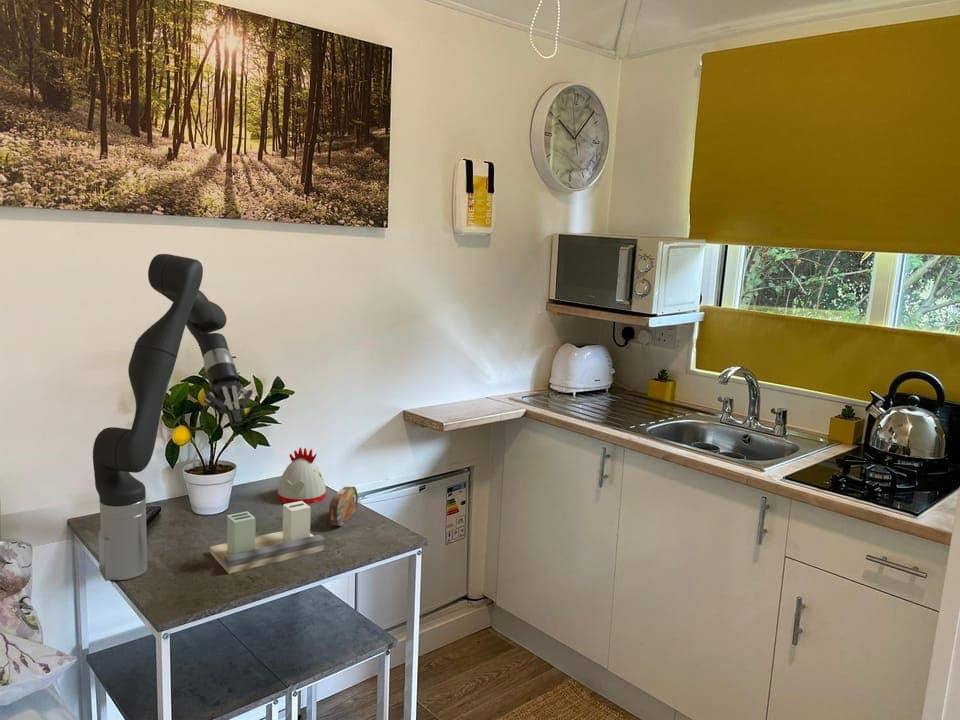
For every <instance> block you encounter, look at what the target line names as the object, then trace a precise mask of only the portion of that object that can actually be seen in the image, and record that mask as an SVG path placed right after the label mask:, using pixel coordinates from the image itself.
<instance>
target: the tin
mask: <svg viewBox="0 0 960 720" xmlns="http://www.w3.org/2000/svg"><path fill="white" fill-rule="evenodd" d="M358 498H359V497H358V490H357V488H356V487H355V486H344V487H343V488H341V489H340V490H339V491H337V493H336V494H335V495H334V496H333V497H331V500H330V503H329V508H328V510H329V523H330V524H331V525H332V526H336V527H337V526H338V527H343V526H344V525H345V524H346V523H347V522H348V521H349V520H348V518H349V517H350V516H351V514H352V513H354V512H355V513H356V510H357V507H358ZM355 513H354V514H355ZM347 520H348V521H347ZM346 521H347V522H346ZM345 522H346V523H345ZM344 523H345V524H344ZM343 524H344V525H343ZM342 525H343V526H342Z"/></svg>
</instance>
